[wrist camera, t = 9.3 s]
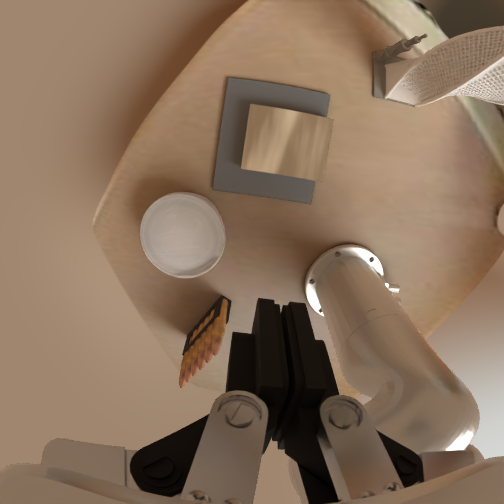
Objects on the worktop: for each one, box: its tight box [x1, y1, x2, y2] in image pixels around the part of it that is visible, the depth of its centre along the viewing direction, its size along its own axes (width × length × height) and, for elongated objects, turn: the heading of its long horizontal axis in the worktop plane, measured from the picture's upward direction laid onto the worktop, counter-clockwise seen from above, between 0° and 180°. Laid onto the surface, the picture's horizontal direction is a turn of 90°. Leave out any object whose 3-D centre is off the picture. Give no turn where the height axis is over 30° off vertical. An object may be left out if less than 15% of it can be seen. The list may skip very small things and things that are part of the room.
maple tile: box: [241, 104, 334, 182], centre depth 33 cm, size 2×8×10 cm
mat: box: [213, 78, 330, 204], centre depth 34 cm, size 13×15×1 cm
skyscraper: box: [373, 26, 504, 107], centre depth 17 cm, size 8×8×28 cm
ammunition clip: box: [179, 296, 231, 388], centre depth 40 cm, size 11×2×12 cm, turn 143°
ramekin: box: [140, 192, 226, 278], centre depth 37 cm, size 11×11×5 cm
